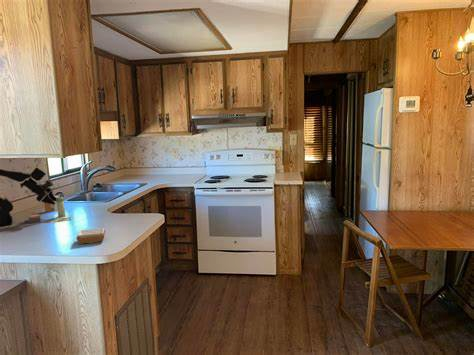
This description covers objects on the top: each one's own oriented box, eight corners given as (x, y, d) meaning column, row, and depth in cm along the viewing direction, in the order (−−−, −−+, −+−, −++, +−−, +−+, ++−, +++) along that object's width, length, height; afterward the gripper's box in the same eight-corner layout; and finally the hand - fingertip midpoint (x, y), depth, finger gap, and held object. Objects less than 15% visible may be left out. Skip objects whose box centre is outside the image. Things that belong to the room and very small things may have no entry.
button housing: (29, 224, 207) (28, 218, 207) (29, 222, 213) (29, 216, 212) (40, 222, 210) (40, 217, 210) (41, 220, 215) (40, 215, 215)
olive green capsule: (58, 217, 219) (56, 198, 217) (58, 216, 222) (56, 197, 221) (65, 216, 221) (63, 197, 219) (65, 215, 224) (63, 196, 223)
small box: (44, 212, 240) (43, 196, 238) (51, 210, 245) (49, 195, 244) (54, 212, 238) (53, 197, 236) (60, 210, 243) (59, 195, 242)
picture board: (42, 225, 205) (42, 224, 205) (43, 219, 219) (42, 218, 219) (77, 220, 213) (77, 219, 213) (75, 214, 228) (75, 213, 228)
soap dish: (76, 246, 165) (75, 235, 165) (79, 240, 174) (78, 230, 174) (105, 242, 169) (104, 232, 168) (106, 236, 178) (105, 227, 178)
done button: (30, 220, 208) (30, 216, 208) (31, 218, 212) (30, 215, 212) (38, 219, 210) (38, 215, 210) (38, 217, 214) (38, 214, 214)
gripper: (40, 178, 207) (62, 195, 212) (46, 174, 224) (67, 190, 229) (26, 193, 206) (50, 209, 211) (34, 188, 223) (55, 203, 228)
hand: (56, 202), depth 220 cm, fingers open, 9 cm apart
